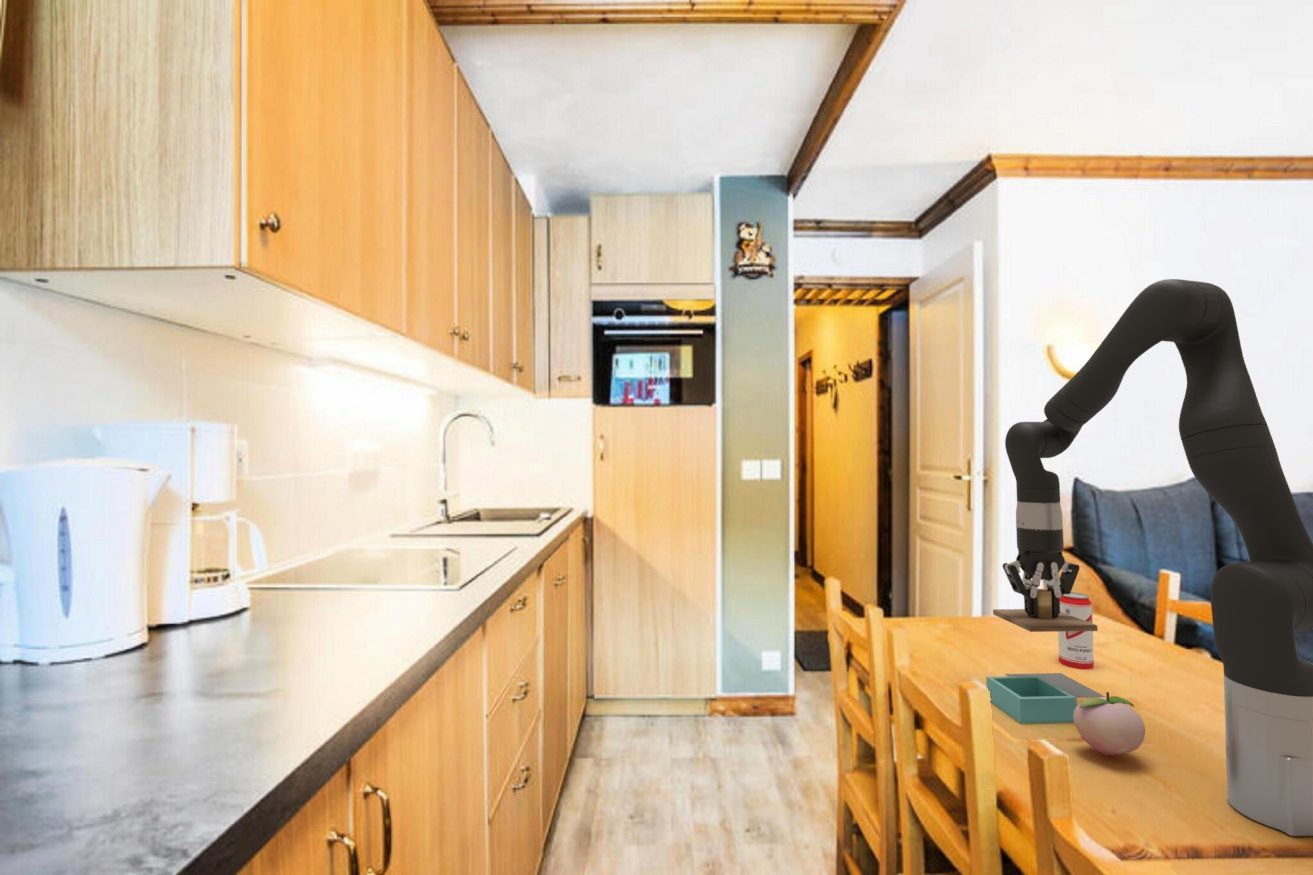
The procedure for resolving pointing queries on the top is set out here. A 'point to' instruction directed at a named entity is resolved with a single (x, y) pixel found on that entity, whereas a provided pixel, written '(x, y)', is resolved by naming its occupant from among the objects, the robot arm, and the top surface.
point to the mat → (1065, 684)
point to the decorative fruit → (1109, 724)
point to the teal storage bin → (1031, 699)
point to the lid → (1044, 617)
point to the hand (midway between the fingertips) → (1042, 616)
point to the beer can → (1076, 633)
